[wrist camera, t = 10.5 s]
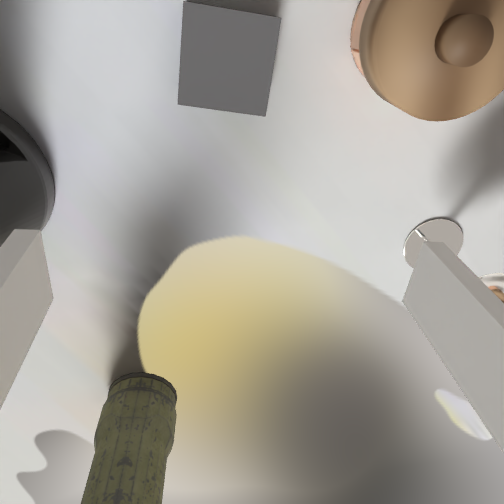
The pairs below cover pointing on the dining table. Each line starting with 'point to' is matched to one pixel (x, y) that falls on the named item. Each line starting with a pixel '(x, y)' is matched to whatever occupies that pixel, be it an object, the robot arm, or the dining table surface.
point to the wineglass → (453, 239)
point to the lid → (434, 55)
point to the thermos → (133, 442)
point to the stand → (226, 58)
